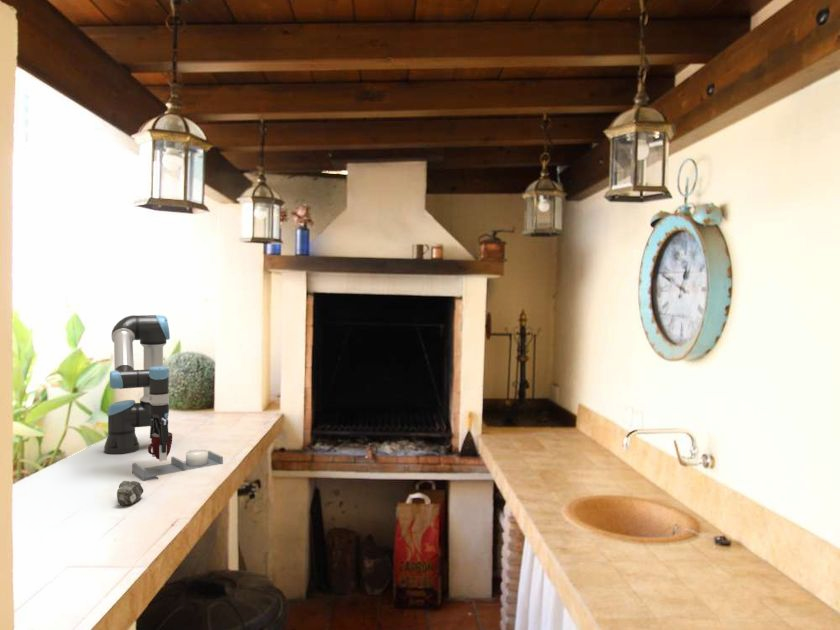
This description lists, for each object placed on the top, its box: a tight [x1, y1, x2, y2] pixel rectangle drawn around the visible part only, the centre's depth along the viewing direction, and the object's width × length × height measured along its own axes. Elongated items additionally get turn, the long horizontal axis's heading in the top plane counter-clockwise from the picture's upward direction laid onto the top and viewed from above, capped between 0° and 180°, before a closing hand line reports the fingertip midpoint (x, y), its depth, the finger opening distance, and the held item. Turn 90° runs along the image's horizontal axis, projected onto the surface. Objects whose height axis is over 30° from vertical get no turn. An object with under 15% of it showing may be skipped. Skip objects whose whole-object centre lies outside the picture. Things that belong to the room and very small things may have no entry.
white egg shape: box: [185, 449, 209, 466], centre depth 268 cm, size 9×9×5 cm
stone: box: [116, 480, 144, 507], centre depth 223 cm, size 14×7×10 cm, turn 20°
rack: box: [131, 450, 224, 482], centre depth 263 cm, size 14×33×4 cm, turn 132°
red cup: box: [147, 431, 173, 460], centre depth 257 cm, size 10×8×10 cm
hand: (159, 458), depth 257 cm, fingers closed on red cup, 8 cm apart
